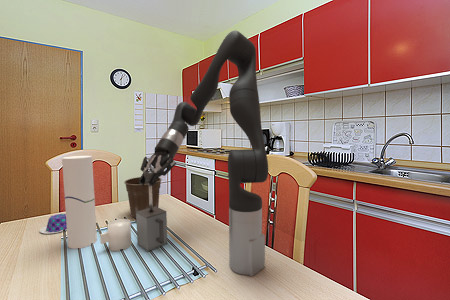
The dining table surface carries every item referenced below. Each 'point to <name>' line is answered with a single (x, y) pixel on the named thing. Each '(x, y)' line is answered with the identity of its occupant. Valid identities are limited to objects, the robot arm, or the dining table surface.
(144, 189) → the plant pot
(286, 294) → the dining table surface
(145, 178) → the plunger
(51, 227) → the purple hat
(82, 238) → the container
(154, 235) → the box with side grip
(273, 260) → the dining table surface
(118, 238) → the mug
